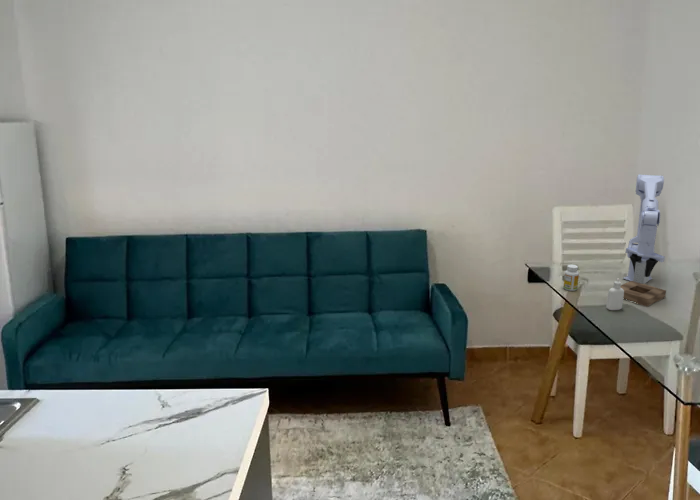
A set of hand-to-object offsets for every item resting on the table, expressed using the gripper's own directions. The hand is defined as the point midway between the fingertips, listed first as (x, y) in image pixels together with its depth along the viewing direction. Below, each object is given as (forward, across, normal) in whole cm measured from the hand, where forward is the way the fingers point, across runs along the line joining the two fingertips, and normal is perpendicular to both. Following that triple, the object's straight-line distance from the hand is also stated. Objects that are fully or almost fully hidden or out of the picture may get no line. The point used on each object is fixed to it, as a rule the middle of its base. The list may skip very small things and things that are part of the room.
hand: (641, 274), depth 250 cm
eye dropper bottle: (+10, 0, -18) cm, 20 cm away
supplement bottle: (+10, -22, -13) cm, 27 cm away
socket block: (+9, 0, 0) cm, 9 cm away
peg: (+3, 0, 0) cm, 3 cm away
